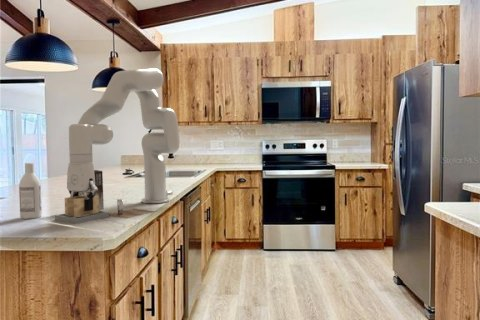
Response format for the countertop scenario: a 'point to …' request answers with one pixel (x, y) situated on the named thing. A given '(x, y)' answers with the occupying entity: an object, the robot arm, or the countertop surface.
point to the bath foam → (30, 194)
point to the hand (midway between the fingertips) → (82, 209)
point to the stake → (120, 206)
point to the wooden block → (79, 206)
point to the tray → (82, 219)
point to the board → (131, 213)
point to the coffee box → (100, 188)
